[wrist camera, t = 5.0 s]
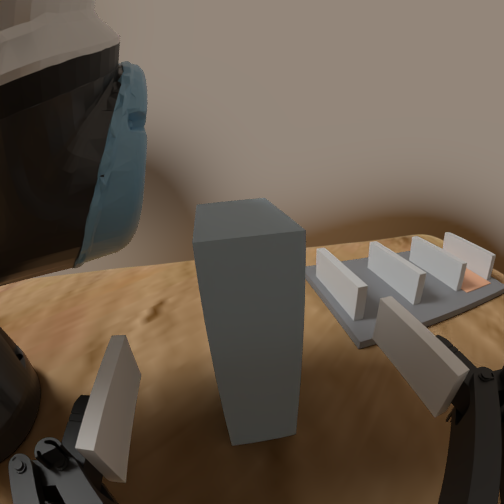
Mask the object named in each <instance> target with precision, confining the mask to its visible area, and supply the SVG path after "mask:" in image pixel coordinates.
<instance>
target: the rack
mask: <svg viewBox="0 0 504 504" xmlns="http://www.w3.org/2000/svg"><path fill="white" fill-rule="evenodd" d="M494 260H495V254H493V253H491V252H489V251H487V250H485V249H483V248H481V247H479V246H477V245H475V244H473V243H471V242H469V241H467V240H465V239H463V238H461V237H459V236H456V235H454V234H452V233H450V232H447V233H445V237H444V244H443V249H441V248H439V247H438V246H436V245H434V244H432V243H430V242H428V241H426V240H424V239H422V238H420V237H418V236H415V237H412V244H411V251H406V252H400V253H395V252H393V251H391V250H390V249H388V248H386V247H385V246H383V245H382V244H380V243H378V242H377V241H375V242H370V248H369V257H368V258H362V259H355V260H348V261H341V262H340V261H339V260H338V259H337V258H336V257H335V256H334V255H332V254H331V253H330V252H329V251H328V250H327V249H325V248H319V249H317V257H316V265H313V266H306V267H305V279H306V280H307V281H308V283H309V284H310V285H311V286H312V288H313V289H314V290H315V292H316V293H317V294H318V296H319V297H320V298H321V299H322V301H323V302H324V303H325V305H326V306H327V307H328V309H329V310H330V311H331V313H332V314H333V315H334V317H335V318H336V319H337V321H338V322H339V323H340V325H341V326H342V327H343V329H344V330H345V331H346V333H347V334H348V335H349V337H350V338H351V339H352V341H353V342H354V343H355V345H356V346H357V347H358V349H361V348H364V347H368V346H371V345H374V344H376V342H375V341H374V340H373V339H372V338H373V333H374V328H375V324H376V318H377V313H378V308H379V302H380V298H384V297H389V296H392V297H393V298H394V299H395V300H396V301H398V302H399V303H400V304H401V305H402V306H403V307H404V308H405V309H407V310H408V311H409V312H410V313H411V314H412V315H413V316H414V317H415V318H416V319H418V320H419V321H420V322H421V323H422V324H423V325H424V326H425V327H428V326H431V325H433V324H436V323H438V322H441V321H443V320H446V319H448V318H451V317H453V316H456V315H458V314H460V313H463V312H465V311H467V310H469V309H472V308H474V307H476V306H478V305H480V304H483V303H485V302H487V301H489V300H491V299H493V298H495V297H497V296H499V295H501V294H503V293H504V284H502V283H501V282H499V281H497V280H496V279H494V278H492V277H491V273H492V269H493V264H494Z"/></svg>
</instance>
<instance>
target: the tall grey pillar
mask: <svg viewBox="0 0 504 504" xmlns="http://www.w3.org/2000/svg"><path fill="white" fill-rule="evenodd" d="M193 250H194V258H195V265H196V271H197V278H198V284H199V290H200V296H201V302H202V308H203V314H204V320H205V325H206V331H207V336H208V341H209V346H210V351H211V356H212V361H213V366H214V371H215V376H216V381H217V385H218V390H219V394H220V399H221V403H222V407H223V412H224V416H225V420H226V424H227V428H228V432H229V436H230V440H231V444H232V446H233V445H241V444H248V443H254V442H260V441H266V440H271V439H277V438H282V437H286V436H291V435H295V434H296V427H297V416H298V406H299V394H300V381H301V367H302V351H303V331H304V307H305V266H306V230H305V229H303V228H302V227H301V226H300V225H298V224H297V223H296V222H295V221H293V220H292V219H291V218H290V217H288V216H287V215H286V214H285V213H283V212H282V211H281V210H279V209H278V208H277V207H276V206H274V205H273V204H272V203H271V202H269V201H268V200H267V199H265V198H258V199H247V200H237V201H228V202H217V203H208V204H199V205H197V206H196V216H195V224H194V233H193Z"/></svg>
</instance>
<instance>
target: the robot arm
mask: <svg viewBox="0 0 504 504" xmlns="http://www.w3.org/2000/svg"><path fill="white" fill-rule="evenodd" d="M94 8H95V0H0V286H2V285H6V284H10V283H14V282H18V281H21V280H25V279H29V278H33V277H37V276H41V275H45V274H49V273H53V272H57V271H61V270H65V269H69V268H78V267H80V266H82V265H83V264H84V263H85V262H88V261H91V260H94V259H97V258H100V257H103V256H106V255H109V254H112V253H116V252H118V251H120V250H121V249H123V248H124V247H125V246H127V245H128V244H129V242H130V241H131V240H132V238H133V236H134V234H135V233H136V230H137V227H138V224H139V220H140V215H141V210H142V203H143V193H144V183H145V168H146V149H147V148H146V147H147V135H146V132H145V129H144V125H145V122H146V112H147V86H146V79H145V75H144V72H143V70H142V69H141V68H140V67H139V66H138V65H134V64H131V63H130V62H128V61H125V62H122V63H121V64H118V60H119V44H120V35H118V34H117V33H116V32H115V31H114V30H113V29H112V28H111V27H110V26H108V25H107V24H106V23H105V22H104V21H103V20H101V19H100V18H99V16H98V15H97V13H96V12H95V10H94ZM372 339H373V340H374V341H375V342H376V344H377V345H378V346H379V347H380V349H381V350H382V351H383V352H384V354H385V355H386V356H387V357H388V358H389V360H390V361H391V362H392V363H393V365H394V366H395V367H396V368H397V370H398V371H399V372H400V373H401V375H402V376H403V377H404V379H405V380H406V381H407V382H408V384H409V385H410V386H411V387H412V389H413V390H414V391H415V393H416V394H417V395H418V396H419V398H420V399H421V400H422V402H423V403H424V404H425V406H426V407H427V408H428V409H429V411H430V412H431V413H432V415H433V416H434V417H437V416H439V415H440V414H442V413H444V412H445V411H446V410H447V409H448V407H449V406H450V404H451V403H452V404H453V405H454V408H453V409H452V411H451V412H450V414H449V415H448V417H447V419H446V422H448V420H449V419H450V417H451V416H452V419H451V421H450V422H451V431H450V441H449V449H448V456H447V463H446V469H445V474H444V480H443V484H442V489H441V493H440V498H439V502H438V504H497V503H498V496H499V489H500V499H501V504H504V366H503V368H502V369H500V370H496V371H492V370H491V369H489V368H486V367H479V368H477V367H475V366H474V365H473V364H472V363H471V362H470V361H469V360H468V359H467V358H466V357H465V356H464V355H463V354H462V353H461V352H460V351H458V349H457V348H456V347H455V346H454V347H453V344H451V343H450V342H449V341H448V340H447V339H446V338H444V337H442V336H440V335H437V336H435V335H434V334H433V333H432V332H431V331H429V330H428V329H427V328H426V327H425V326H424V325H423V324H422V323H421V322H420V321H419V320H418V319H416V318H415V317H414V316H413V315H412V314H411V313H410V312H409V311H408V310H407V309H405V308H404V307H403V306H402V305H401V304H400V303H399V302H398V301H396V300H395V299H394V298H393V297H392V296H389V297H384V298H380V302H379V308H378V313H377V318H376V324H375V328H374V333H373V338H372ZM140 379H141V373H140V371H139V368H138V366H137V363H136V361H135V358H134V356H133V353H132V351H131V348H130V345H129V343H128V340H127V337H126V335H116V336H112V337H111V339H110V342H109V344H108V347H107V349H106V352H105V355H104V357H103V360H102V363H101V365H100V368H99V371H98V374H97V377H96V380H95V382H94V385H93V388H92V391H91V394H90V396H89V395H81V396H80V397H79V398H78V399H77V400H76V402H75V403H74V405H73V408H72V411H71V414H70V417H69V422H68V423H67V426H66V429H65V433H64V436H63V439H62V443H61V442H60V441H59V440H57V439H55V438H52V437H47V438H43V439H42V440H40V441H39V442H38V443H37V445H36V446H35V451H34V454H35V458H36V459H37V460H31V459H30V458H29V457H28V456H26V455H24V454H16V455H14V456H13V457H12V458H11V459H10V461H9V466H8V469H9V478H10V486H11V493H12V499H13V504H118V502H117V501H116V500H115V499H114V497H113V496H112V495H111V493H110V492H109V491H108V489H107V488H106V487H105V485H104V484H103V483H102V477H103V476H104V477H105V478H106V479H107V480H108V481H113V482H121V483H126V476H127V466H128V457H129V449H130V441H131V433H132V426H133V420H134V413H135V407H136V401H137V395H138V390H139V384H140ZM40 396H41V390H40V382H39V379H38V376H37V374H36V372H35V370H34V369H33V367H32V365H31V364H30V362H29V360H28V358H27V357H26V355H25V354H24V352H23V351H22V350H21V349H20V348H19V347H18V346H17V345H16V344H15V343H14V342H13V340H12V339H11V338H10V337H9V336H8V335H7V334H6V333H5V332H4V331H3V329H2V328H1V327H0V462H1V461H2V460H4V459H5V458H7V457H8V456H9V455H10V454H11V453H12V452H14V451H15V449H16V448H17V447H18V446H19V445H20V444H21V443H22V441H23V440H24V439H25V437H26V436H27V434H28V432H29V431H30V429H31V427H32V425H33V423H34V420H35V418H36V415H37V412H38V408H39V404H40Z"/></svg>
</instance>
